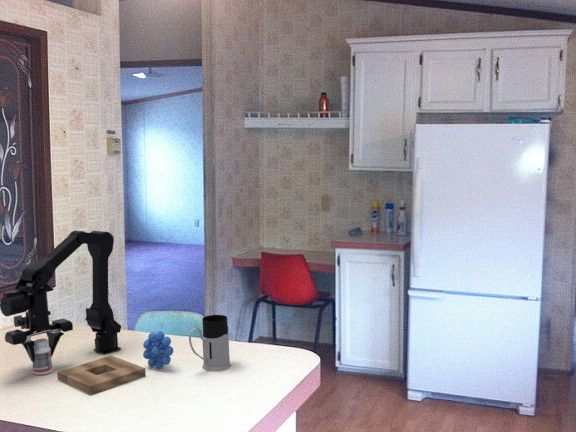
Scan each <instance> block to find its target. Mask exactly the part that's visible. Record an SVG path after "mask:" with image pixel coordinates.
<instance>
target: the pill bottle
mask: <svg viewBox="0 0 576 432" xmlns="http://www.w3.org/2000/svg"><path fill="white" fill-rule="evenodd" d="M33 341H34V355H35V358H34V362H32V372H33V374H35V375H37V376H38V375H40V376H41V375H47V374H49V373H51V372H53V364H52V363H53V361H52V357H51V348H50V347H49V346H48V338H39V339H34V340H33Z"/></svg>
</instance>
